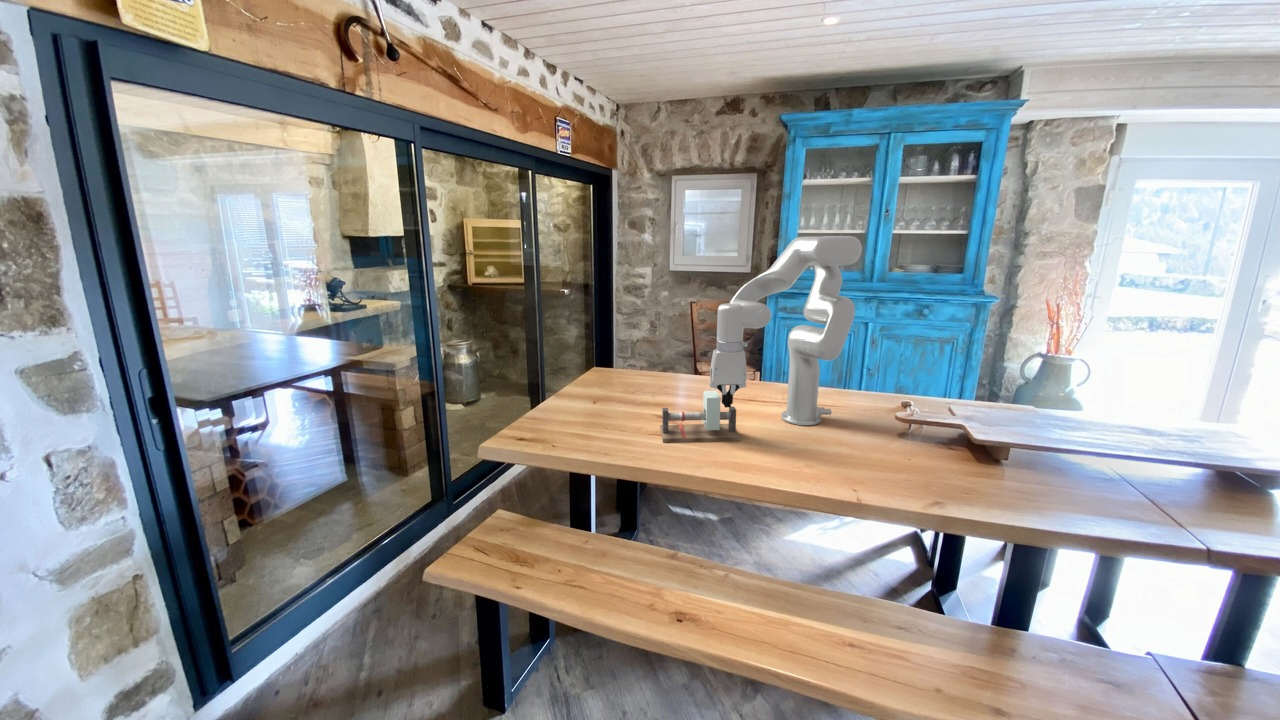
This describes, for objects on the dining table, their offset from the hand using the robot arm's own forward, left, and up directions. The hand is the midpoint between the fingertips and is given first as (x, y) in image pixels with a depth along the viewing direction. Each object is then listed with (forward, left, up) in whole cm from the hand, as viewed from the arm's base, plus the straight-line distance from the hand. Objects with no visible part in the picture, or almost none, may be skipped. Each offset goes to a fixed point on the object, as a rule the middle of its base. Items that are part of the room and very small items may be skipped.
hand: (727, 406), depth 150 cm
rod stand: (+8, -3, -10) cm, 13 cm away
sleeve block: (+4, -3, -7) cm, 9 cm away
